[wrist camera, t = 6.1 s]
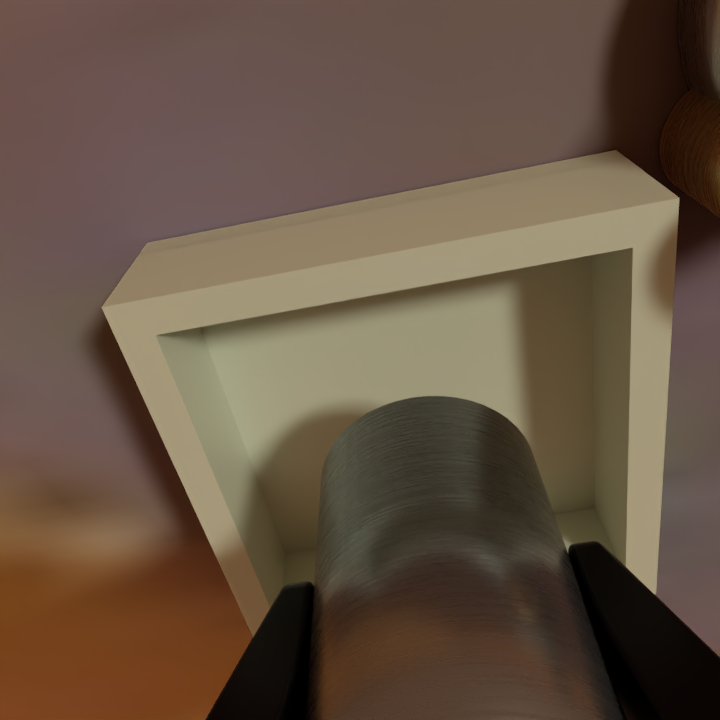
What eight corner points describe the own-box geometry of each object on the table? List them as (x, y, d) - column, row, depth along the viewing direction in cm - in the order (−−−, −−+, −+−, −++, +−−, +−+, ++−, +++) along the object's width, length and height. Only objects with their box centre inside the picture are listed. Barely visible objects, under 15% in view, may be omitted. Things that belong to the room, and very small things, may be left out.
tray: (613, 504, 15) (655, 594, 13) (269, 554, 16) (257, 647, 14) (616, 149, 11) (679, 198, 9) (147, 243, 12) (101, 307, 10)
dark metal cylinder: (541, 541, 12) (729, 1141, 6) (345, 569, 12) (335, 1160, 6) (529, 378, 10) (787, 1014, 4) (298, 416, 10) (219, 1052, 4)
